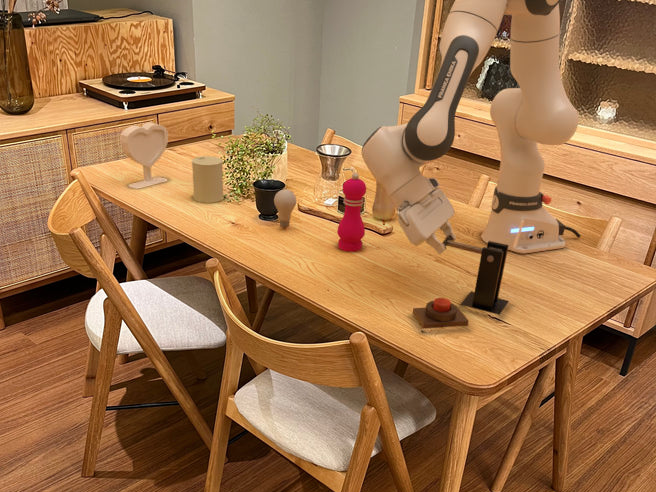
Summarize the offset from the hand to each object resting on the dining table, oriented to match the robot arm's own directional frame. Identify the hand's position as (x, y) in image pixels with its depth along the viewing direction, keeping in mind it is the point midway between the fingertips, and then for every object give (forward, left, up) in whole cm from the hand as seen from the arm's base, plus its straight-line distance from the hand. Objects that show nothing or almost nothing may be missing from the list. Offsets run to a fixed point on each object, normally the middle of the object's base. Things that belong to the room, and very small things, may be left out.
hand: (448, 246), depth 157 cm
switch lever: (-4, +3, 0) cm, 5 cm away
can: (+48, -72, -12) cm, 88 cm away
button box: (+5, +13, -12) cm, 18 cm away
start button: (+5, +13, -9) cm, 16 cm away
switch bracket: (-8, +7, -12) cm, 16 cm away
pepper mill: (+14, -30, -12) cm, 36 cm away
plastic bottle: (-1, -50, -12) cm, 52 cm away
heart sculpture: (+66, -88, -12) cm, 111 cm away
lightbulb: (+29, -45, -12) cm, 55 cm away
